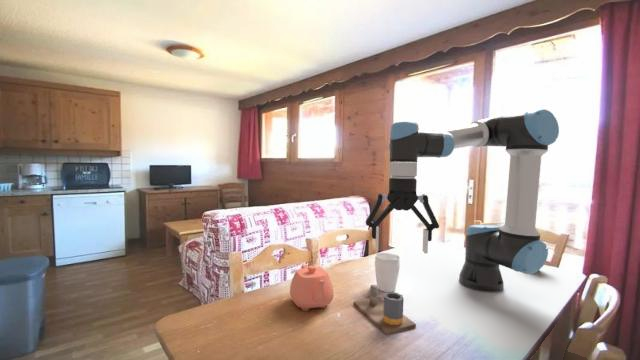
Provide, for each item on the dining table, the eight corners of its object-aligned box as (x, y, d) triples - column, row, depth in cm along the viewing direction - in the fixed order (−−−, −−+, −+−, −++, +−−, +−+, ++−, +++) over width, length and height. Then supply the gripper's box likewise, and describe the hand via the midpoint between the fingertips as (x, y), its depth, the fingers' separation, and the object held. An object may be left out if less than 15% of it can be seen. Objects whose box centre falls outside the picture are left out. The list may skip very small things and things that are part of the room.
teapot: (301, 324, 84) (302, 282, 83) (284, 294, 102) (284, 259, 102) (344, 316, 89) (345, 276, 88) (320, 289, 107) (321, 256, 106)
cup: (399, 295, 104) (401, 261, 103) (373, 292, 106) (374, 259, 105) (398, 284, 113) (399, 253, 112) (374, 282, 114) (375, 251, 114)
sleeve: (403, 325, 82) (404, 301, 82) (384, 323, 83) (385, 299, 83) (400, 316, 88) (401, 293, 87) (382, 314, 88) (383, 291, 88)
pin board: (353, 304, 96) (353, 283, 96) (379, 299, 100) (380, 279, 100) (386, 334, 80) (387, 309, 79) (415, 327, 83) (416, 303, 83)
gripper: (444, 177, 87) (441, 249, 88) (358, 176, 89) (357, 245, 91) (453, 179, 79) (449, 257, 80) (358, 177, 82) (357, 252, 83)
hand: (400, 251), depth 86 cm, fingers open, 13 cm apart
